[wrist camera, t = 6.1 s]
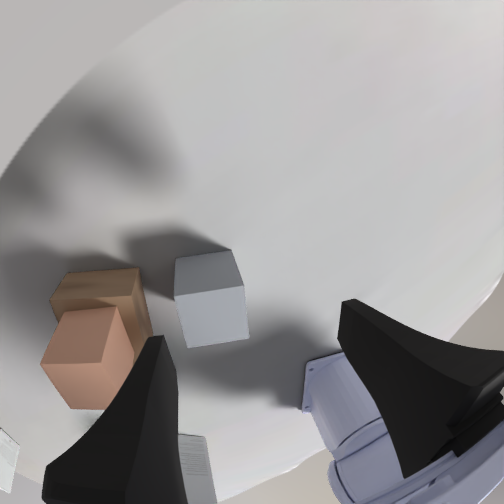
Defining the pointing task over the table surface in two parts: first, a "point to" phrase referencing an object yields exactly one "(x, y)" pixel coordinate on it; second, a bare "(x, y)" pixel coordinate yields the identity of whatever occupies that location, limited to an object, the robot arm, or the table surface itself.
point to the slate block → (210, 299)
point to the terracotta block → (89, 357)
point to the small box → (7, 461)
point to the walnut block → (107, 299)
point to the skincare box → (196, 470)
